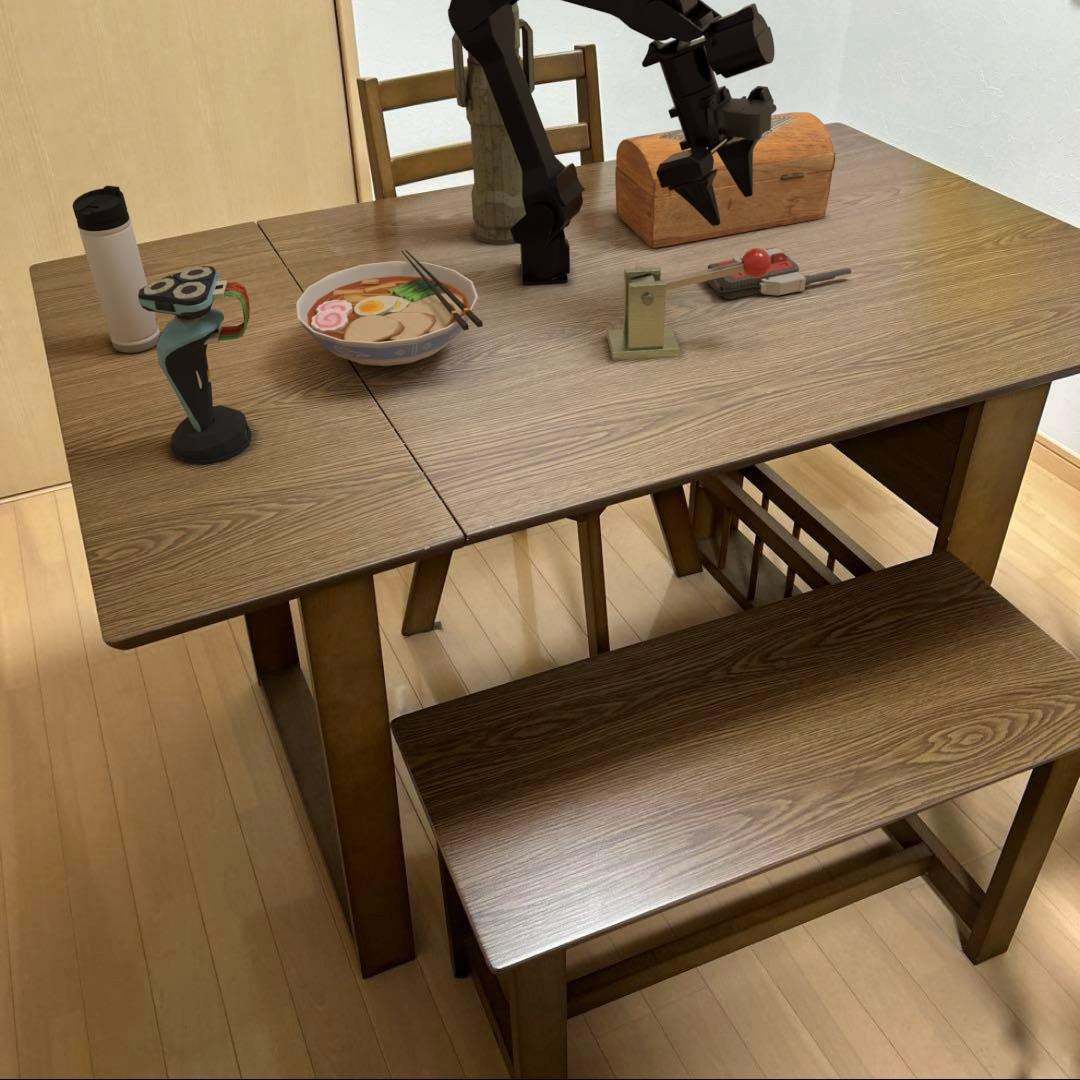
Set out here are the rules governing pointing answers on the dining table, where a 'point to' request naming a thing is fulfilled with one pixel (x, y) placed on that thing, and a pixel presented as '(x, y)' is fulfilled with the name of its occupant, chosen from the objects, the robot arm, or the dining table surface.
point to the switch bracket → (643, 320)
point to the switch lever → (721, 270)
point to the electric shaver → (197, 361)
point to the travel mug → (116, 268)
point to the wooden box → (728, 184)
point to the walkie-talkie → (768, 278)
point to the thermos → (492, 142)
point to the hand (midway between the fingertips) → (733, 210)
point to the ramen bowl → (388, 311)
